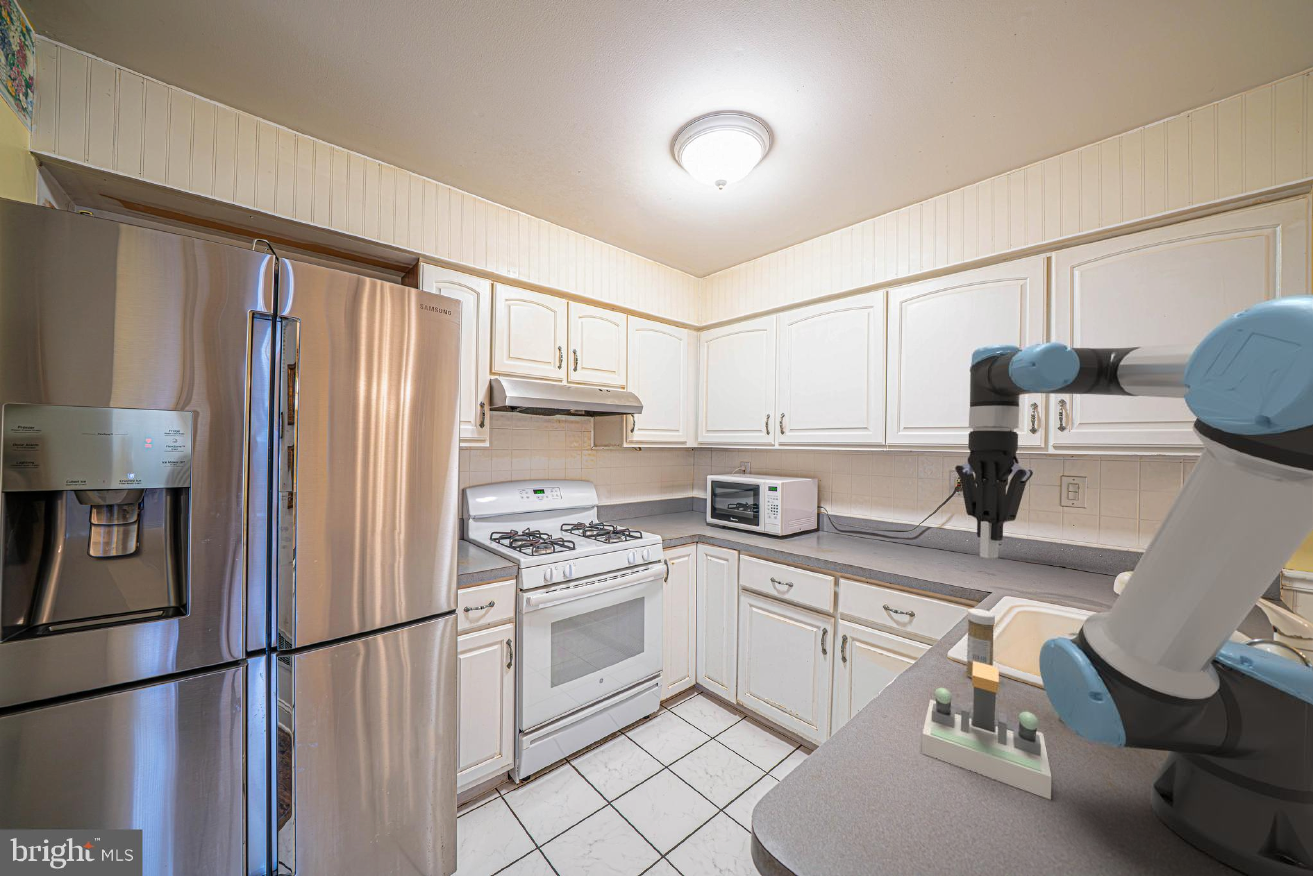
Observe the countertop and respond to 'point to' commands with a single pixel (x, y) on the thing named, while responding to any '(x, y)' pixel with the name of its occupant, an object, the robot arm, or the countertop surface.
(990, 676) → the breaker lever
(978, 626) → the sprinkles bottle
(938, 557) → the countertop surface
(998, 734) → the lever control panel
